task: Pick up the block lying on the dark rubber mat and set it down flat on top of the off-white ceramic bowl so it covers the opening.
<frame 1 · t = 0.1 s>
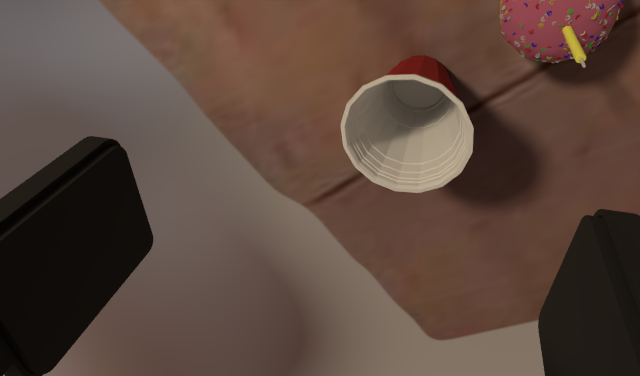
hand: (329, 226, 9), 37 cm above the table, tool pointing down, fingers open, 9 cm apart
plastic cup: (417, 81, 45), on the table
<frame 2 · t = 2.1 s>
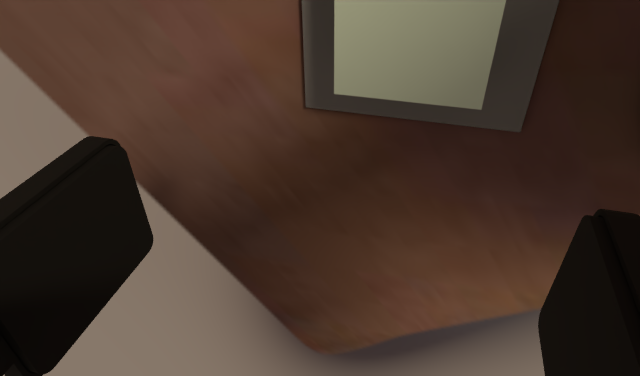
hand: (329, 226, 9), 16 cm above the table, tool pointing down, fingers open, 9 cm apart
mat: (420, 5, 22), on the table
block: (420, 8, 21), resting on mat
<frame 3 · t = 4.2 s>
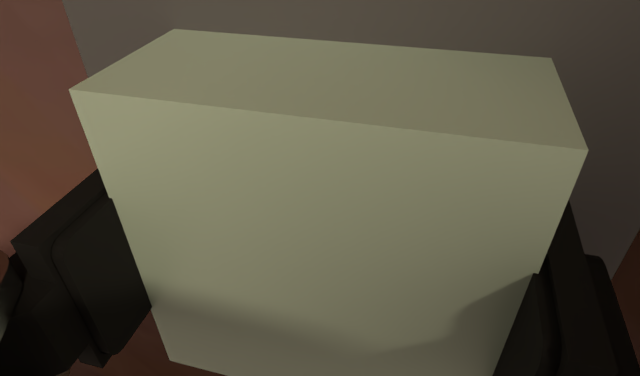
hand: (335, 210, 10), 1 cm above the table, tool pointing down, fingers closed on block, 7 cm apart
mat: (345, 184, 10), on the table
block: (341, 194, 10), resting on mat, touching gripper
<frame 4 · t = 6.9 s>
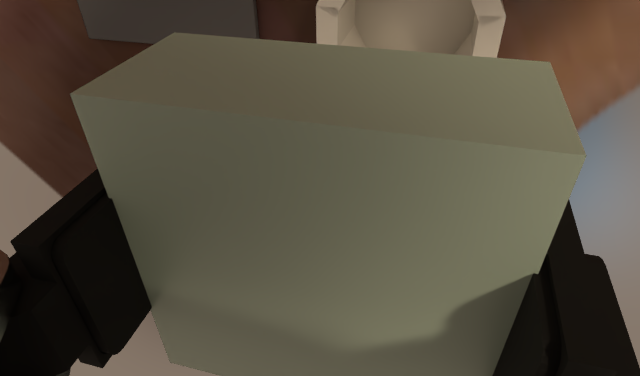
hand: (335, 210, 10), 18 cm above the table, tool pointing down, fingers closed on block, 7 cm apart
bowl: (415, 6, 23), on the table
block: (341, 196, 10), point 17 cm above the table, touching gripper
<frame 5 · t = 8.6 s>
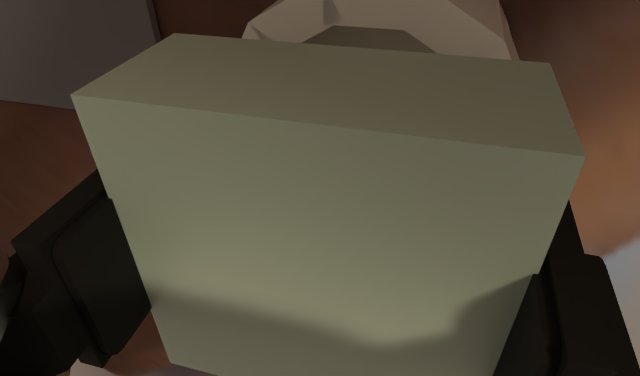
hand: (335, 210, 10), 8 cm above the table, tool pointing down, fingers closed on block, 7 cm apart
bowl: (389, 71, 16), on the table
block: (341, 197, 10), point 7 cm above the table, touching gripper
when the fingers open (7 cm above the table, at t = 9.7 s): block drops 1 cm, resting on bowl.
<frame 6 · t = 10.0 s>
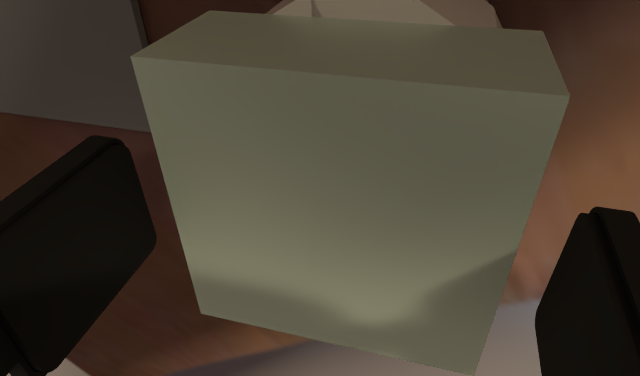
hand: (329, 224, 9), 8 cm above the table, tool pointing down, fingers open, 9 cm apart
bowl: (383, 83, 15), on the table
block: (356, 161, 11), point 5 cm above the table, touching bowl
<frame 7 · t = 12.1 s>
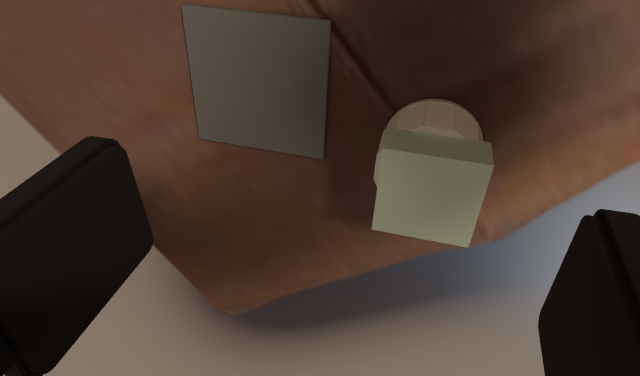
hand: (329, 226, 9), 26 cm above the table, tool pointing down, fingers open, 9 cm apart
bowl: (431, 143, 37), on the table
mat: (258, 85, 37), on the table
block: (429, 176, 33), point 5 cm above the table, touching bowl
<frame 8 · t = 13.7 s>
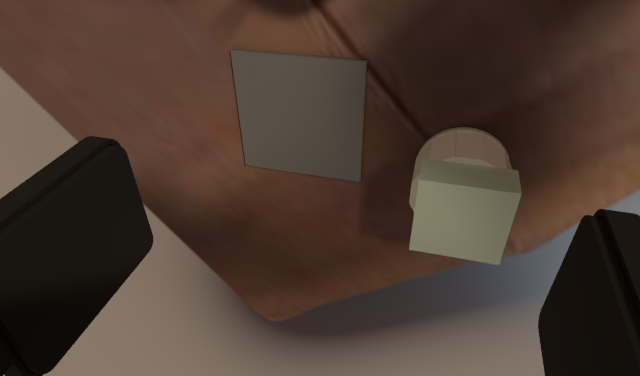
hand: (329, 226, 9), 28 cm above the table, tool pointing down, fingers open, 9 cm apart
bowl: (461, 166, 40), on the table
mat: (300, 117, 41), on the table
block: (461, 200, 36), point 5 cm above the table, touching bowl
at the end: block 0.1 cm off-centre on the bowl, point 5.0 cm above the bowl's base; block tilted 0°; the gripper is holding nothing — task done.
